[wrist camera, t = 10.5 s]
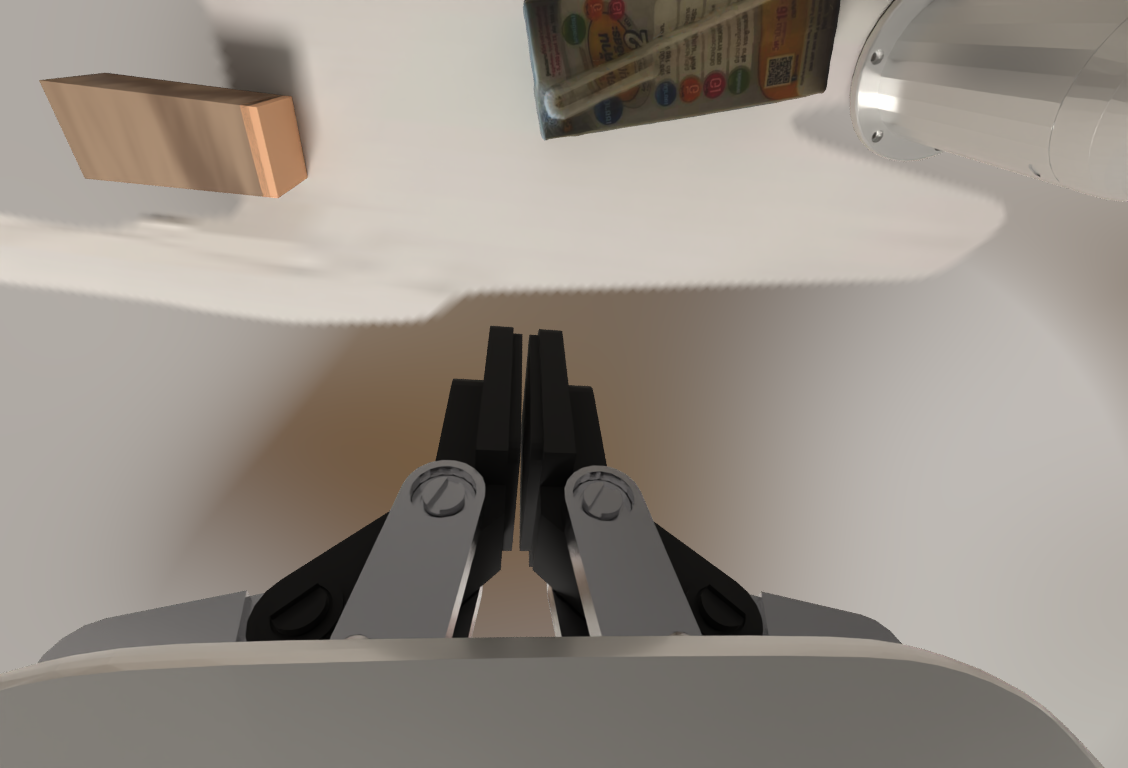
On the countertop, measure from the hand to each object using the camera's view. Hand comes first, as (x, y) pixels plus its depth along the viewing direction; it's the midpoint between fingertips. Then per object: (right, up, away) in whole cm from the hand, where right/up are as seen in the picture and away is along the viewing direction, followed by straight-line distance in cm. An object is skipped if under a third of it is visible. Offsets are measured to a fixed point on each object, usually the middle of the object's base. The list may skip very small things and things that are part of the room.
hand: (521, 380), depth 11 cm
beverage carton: (+8, +24, +22) cm, 34 cm away
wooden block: (-19, +17, +22) cm, 33 cm away
